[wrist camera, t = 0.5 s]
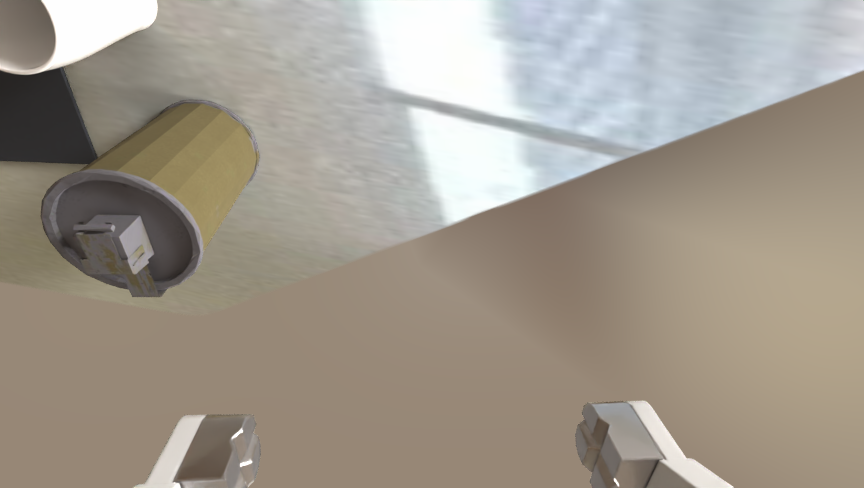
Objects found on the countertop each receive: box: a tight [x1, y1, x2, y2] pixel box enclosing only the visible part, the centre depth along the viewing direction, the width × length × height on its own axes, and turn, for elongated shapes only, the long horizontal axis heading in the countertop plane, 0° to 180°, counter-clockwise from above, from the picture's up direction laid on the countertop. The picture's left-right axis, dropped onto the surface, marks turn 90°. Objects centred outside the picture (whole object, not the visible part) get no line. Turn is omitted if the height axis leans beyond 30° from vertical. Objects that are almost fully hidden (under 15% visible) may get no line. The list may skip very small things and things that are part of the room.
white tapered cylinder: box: [0, 0, 157, 75], centre depth 30 cm, size 7×7×15 cm
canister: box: [41, 100, 260, 297], centre depth 36 cm, size 11×10×20 cm
